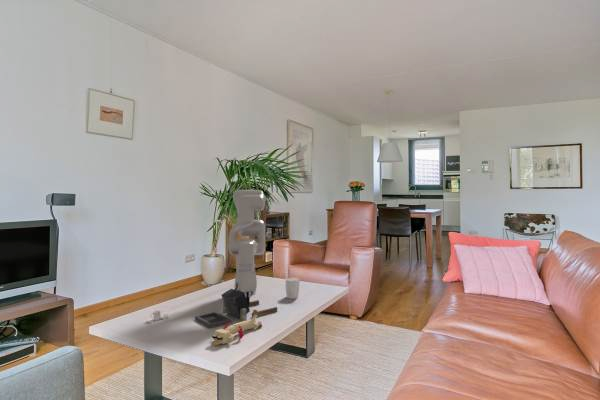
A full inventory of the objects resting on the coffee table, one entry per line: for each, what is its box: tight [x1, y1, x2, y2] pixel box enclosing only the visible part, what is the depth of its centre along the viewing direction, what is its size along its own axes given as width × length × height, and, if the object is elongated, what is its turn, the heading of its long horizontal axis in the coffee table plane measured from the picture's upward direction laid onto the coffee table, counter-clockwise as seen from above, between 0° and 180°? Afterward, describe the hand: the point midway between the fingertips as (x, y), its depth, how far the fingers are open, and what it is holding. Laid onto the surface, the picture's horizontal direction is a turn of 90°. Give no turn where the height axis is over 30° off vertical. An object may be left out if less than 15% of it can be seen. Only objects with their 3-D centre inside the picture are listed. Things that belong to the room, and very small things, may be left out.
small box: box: [221, 288, 251, 319], centre depth 164 cm, size 11×6×10 cm, turn 47°
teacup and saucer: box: [147, 310, 170, 324], centre depth 159 cm, size 9×8×4 cm
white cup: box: [285, 277, 301, 300], centre depth 196 cm, size 8×8×10 cm
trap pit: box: [194, 311, 233, 329], centre depth 157 cm, size 14×10×2 cm
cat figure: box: [211, 309, 263, 346], centre depth 141 cm, size 10×9×25 cm
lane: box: [222, 299, 278, 322], centre depth 170 cm, size 17×20×5 cm
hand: (245, 305), depth 168 cm, fingers closed
